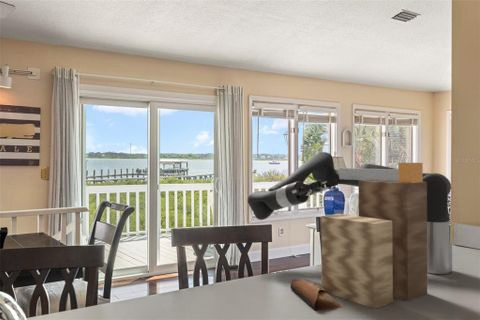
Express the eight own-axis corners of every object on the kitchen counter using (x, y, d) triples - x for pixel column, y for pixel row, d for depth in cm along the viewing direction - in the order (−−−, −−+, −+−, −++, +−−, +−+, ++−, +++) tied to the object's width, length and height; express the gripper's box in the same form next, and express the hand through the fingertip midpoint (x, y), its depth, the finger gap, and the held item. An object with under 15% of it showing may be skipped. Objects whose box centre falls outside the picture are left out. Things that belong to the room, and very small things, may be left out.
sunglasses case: (345, 307, 108) (332, 286, 107) (323, 323, 107) (311, 303, 106) (316, 286, 126) (305, 268, 125) (297, 300, 124) (286, 282, 123)
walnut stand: (359, 286, 126) (358, 180, 125) (378, 280, 132) (378, 179, 131) (407, 300, 113) (407, 183, 113) (427, 293, 119) (426, 181, 119)
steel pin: (337, 179, 135) (337, 162, 135) (348, 178, 138) (348, 162, 138) (411, 183, 114) (411, 163, 114) (422, 182, 117) (422, 162, 117)
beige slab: (322, 291, 122) (321, 216, 122) (339, 285, 127) (339, 213, 126) (374, 308, 107) (374, 223, 107) (392, 302, 112) (392, 220, 112)
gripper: (275, 185, 140) (312, 172, 128) (302, 182, 149) (338, 170, 138) (281, 207, 138) (319, 196, 127) (307, 203, 148) (345, 192, 136)
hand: (329, 182), depth 132 cm, fingers open, 8 cm apart
